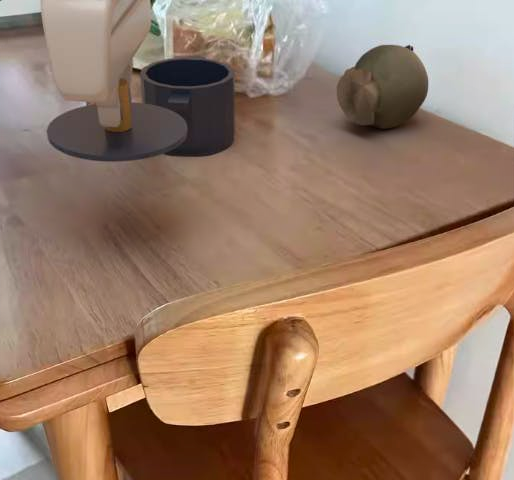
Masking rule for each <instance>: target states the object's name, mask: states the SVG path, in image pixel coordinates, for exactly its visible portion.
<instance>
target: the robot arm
mask: <svg viewBox="0 0 514 480" xmlns="http://www.w3.org/2000/svg"><path fill="white" fill-rule="evenodd" d="M40 14H41V21H42V22H41V23H42V28H43V33H44V38H45V44H46V49H47V55H48V60H49V64H50V69H51V72H52V78H53V82H54V84H55V87H56V89H57V91H58V93H59V95H60V96H61V98H62V99H64V100H65V101H70V102H81V103H82V102H83V103H86V102H95V103H96V105H97V107H98V116H99V123H100V124H101V125H102V126H103V127H118V126H119V125H120V122H121V121H122V119H123V113H122V101H119V94H118V87H119V79H120V78H123V79H125V80H127V81H128V90H129V102H130V104H131V102H133V99H132V80H133V79H132V78H133V69H134V57H135V56H136V53H137V52H138V50H139V49H140V47H141V45H143V43H144V41H145V39H146V37H147V36H148V34H149V33H150V32H151V28H152V27H151V26H152V6H151V0H40Z"/></svg>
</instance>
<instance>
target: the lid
mask: <svg viewBox="0 0 514 480" xmlns="http://www.w3.org/2000/svg"><path fill="white" fill-rule="evenodd" d="M118 94H119V101H122V113H123V119H122V121H121V122H120V125H119V126H118V127H103V126H102V125H101V124H100V123H99V116H98V107H97V105H96V104H93V105H87V106H86V105H83V106H80V107H76V108H73V109H70V110H68V111H65V112H63V113H61V114H59V115H57V116H56V117H54V118H53V119H52V120H51V121H50V122H49V124H48V126H47V127H46V136H47V140H48V143H49V144H50V146H51V147H53V148H54V149H55V150H57V151H58V152H60V153H62V154H65V155H67V156H70V157H73V158H76V159H80V160H81V159H82V160H86V161H93V162H94V161H95V162H106V163H107V162H109V163H112V162H113V163H115V162H116V163H117V162H118V163H119V162H131V161H139V160H145V159H151V158H154V157H158V156H161V155H164V154H163V153H166V152H168V151H170V150H173V149H174V148H176V147H178V146H179V145H180V144H181V143H182V142H183V141H184V140H185V139H186V137H187V133H188V128H187V123H186V121H185V120H184V119H183V118H182V117H181V116H180V115H179V114H177V113H175V112H173V111H171V110H169V109H166V108H163V107H160V106H156V105H151V104H144V103H142V102H133V101H132V102H131V104H130V102H129V90H128V81H127V80H125V79H123V78H120V79H119V87H118Z"/></svg>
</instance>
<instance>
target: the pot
mask: <svg viewBox="0 0 514 480" xmlns="http://www.w3.org/2000/svg"><path fill="white" fill-rule="evenodd" d="M235 75H236V73H235V69H234V68H232V66H230V65H229V64H227V63H224V62H222V61H219V60H215V59H210V58H206V57H205V56H186V57H184V56H183V57H173V58H166V59H161V60H158V61H154V62H151V63H149V64H148V65H145V66H144V67H142V69H141V71H140V73H139V80H140V93H141V94H140V95H141V103H144V104H151V105H156V106H160V107H163V108H166V109H169V110H171V111H173V112H175V113H177V114H179V115H180V116H181V117H182V118H183V119H184V120H185V121H186V123H187V128H188V133H187V137H186V139H185V140H184V141H183V142H182V143H181V144H180V145H179V146H178V147H176V148H174V149H173V150H170V151H168V152H166V153H163V154H162V155H167V156H173V157H183V158H184V157H185V158H194V157H195V158H196V157H204V156H210V155H211V156H212V155H214V154H215V155H216V154H218V153H221V152H223V151H225V150H227V149H229V148H230V147H231V146H232V145H233V143H234V141H235V134H236V96H235V94H236V93H235V92H236V82H235V81H236V79H235V77H236V76H235Z"/></svg>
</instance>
